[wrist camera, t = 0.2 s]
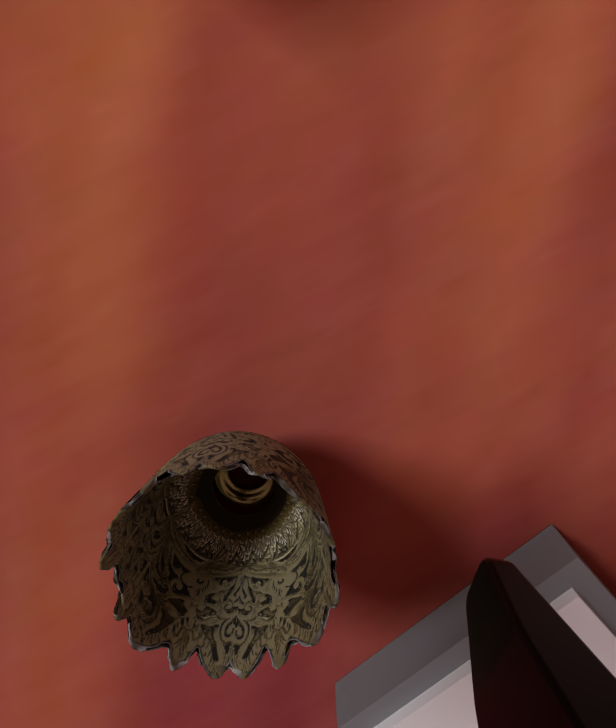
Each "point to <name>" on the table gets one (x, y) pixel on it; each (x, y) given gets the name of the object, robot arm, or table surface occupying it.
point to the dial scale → (451, 646)
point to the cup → (224, 557)
